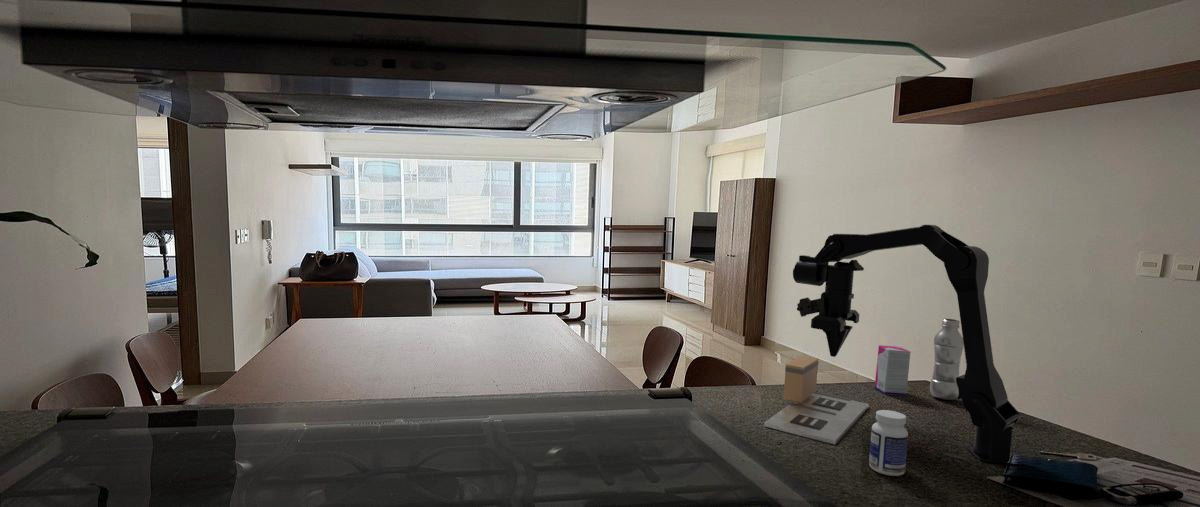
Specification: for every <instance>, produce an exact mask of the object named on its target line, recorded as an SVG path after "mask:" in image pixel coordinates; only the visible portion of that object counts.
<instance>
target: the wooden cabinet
mask: <svg viewBox="0 0 1200 507" xmlns="http://www.w3.org/2000/svg"><path fill="white" fill-rule="evenodd" d="M819 362H820V361H819V358H817V357H811V356H808V355H807V356H805V355H800V356H799V357H796V358H795V359H793V360H792V361H789V362H787V363H786V364H785V368H784V372H785V373H784V385H783V386H784V387H783V396H782V398H783V399H784V400H789V401H791V402H793V401H797V402H802V401H803V400H805V399H806V398H807V397H809V396H810V395H811V394H813V393H814V392H817V384H818V371H819V370H818V369H819Z"/></svg>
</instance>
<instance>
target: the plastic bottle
mask: <svg viewBox="0 0 1200 507" xmlns="http://www.w3.org/2000/svg"><path fill="white" fill-rule="evenodd" d="M960 324H961V321H960V320H959V319H953V318H942V320H941V329H940V330H939V331H938V332H937V333H936V334H935V335H934V338H933V346H934V347H933V348H934V366H933V372H932V376H931V379H930V384H929V393H930V394H931V395H932V396H933V397H935V398H937V399H941V400H945V401H946V400H949V401H955V400H958V395H959V390H958V386H957V383H956V377H959V376H960V365H961V364H960V363H961V358H962V355H963V350H964V343H963V335H962V334H961V333H960V331H959V329H960V326H961V325H960Z"/></svg>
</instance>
